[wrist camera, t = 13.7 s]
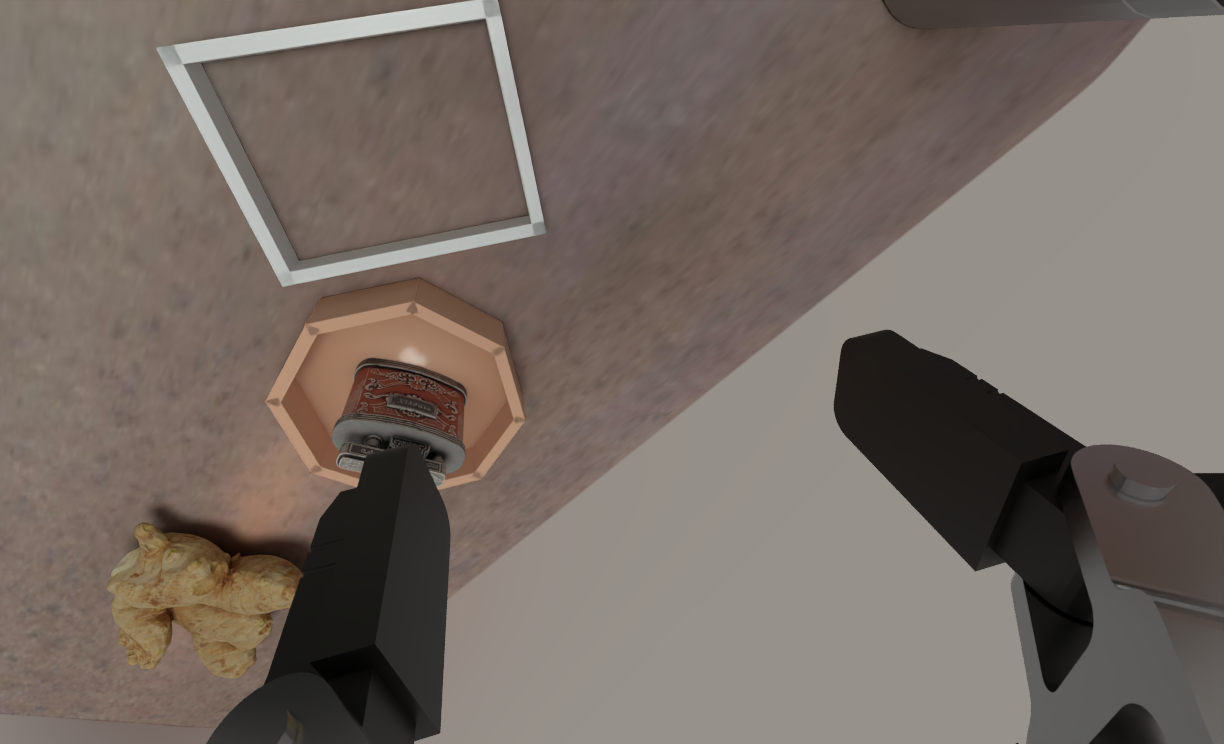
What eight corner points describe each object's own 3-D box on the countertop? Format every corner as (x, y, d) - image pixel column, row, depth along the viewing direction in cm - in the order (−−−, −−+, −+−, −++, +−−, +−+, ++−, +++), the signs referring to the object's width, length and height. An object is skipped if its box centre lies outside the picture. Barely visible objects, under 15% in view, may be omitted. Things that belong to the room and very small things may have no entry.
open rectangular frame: (495, 0, 28) (497, -4, 27) (543, 224, 35) (546, 233, 34) (175, 47, 26) (155, 47, 25) (292, 275, 33) (282, 286, 32)
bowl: (485, 263, 36) (486, 285, 32) (534, 433, 44) (538, 464, 41) (249, 312, 34) (225, 340, 31) (348, 479, 43) (337, 515, 39)
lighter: (473, 382, 39) (473, 469, 31) (458, 415, 41) (453, 508, 33) (362, 349, 36) (329, 437, 28) (349, 386, 37) (313, 482, 29)
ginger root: (190, 476, 38) (159, 580, 33) (361, 537, 50) (359, 620, 44) (44, 573, 40) (-7, 685, 35) (241, 609, 52) (225, 697, 46)
